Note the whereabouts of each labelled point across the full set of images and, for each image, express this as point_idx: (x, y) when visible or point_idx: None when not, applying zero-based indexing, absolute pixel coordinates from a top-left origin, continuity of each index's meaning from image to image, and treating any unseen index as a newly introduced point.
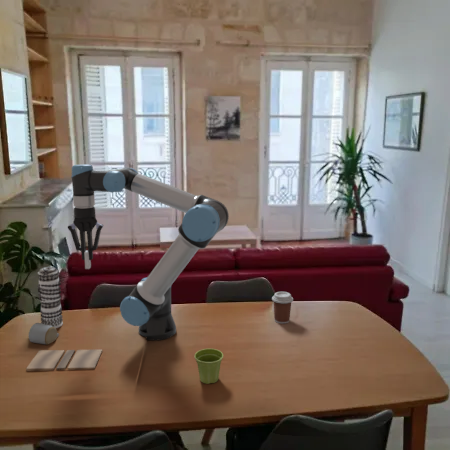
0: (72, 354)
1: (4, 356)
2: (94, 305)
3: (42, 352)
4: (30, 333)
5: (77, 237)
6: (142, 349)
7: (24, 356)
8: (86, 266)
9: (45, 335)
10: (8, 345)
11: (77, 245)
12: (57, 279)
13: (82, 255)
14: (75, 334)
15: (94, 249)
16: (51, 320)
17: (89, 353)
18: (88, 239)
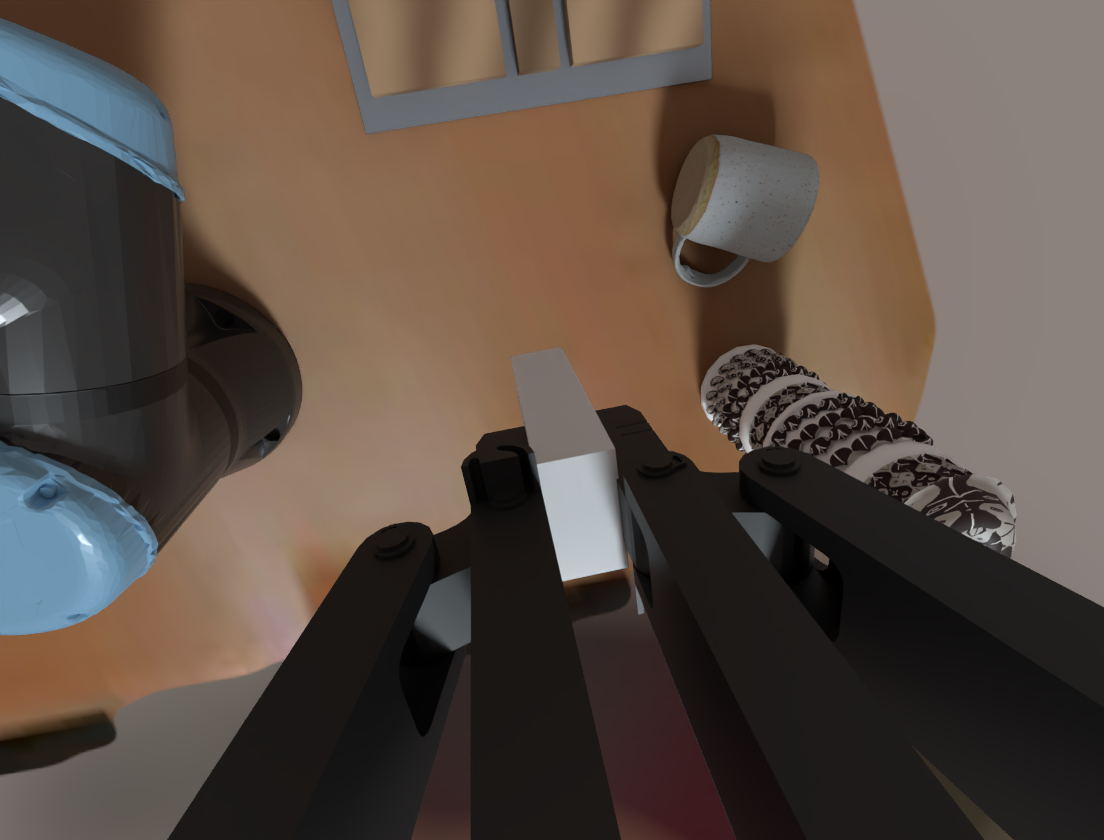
0: (510, 14)
1: (859, 24)
2: (628, 594)
3: (678, 17)
4: (803, 154)
5: (986, 777)
6: (180, 172)
7: (764, 31)
8: (548, 360)
9: (716, 139)
10: (874, 153)
11: (827, 507)
12: None
13: (644, 436)
14: (604, 306)
15: (397, 528)
16: (751, 363)
17: (420, 32)
18: (556, 725)
